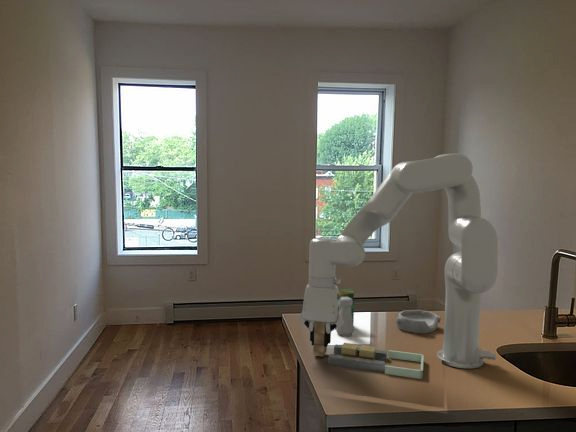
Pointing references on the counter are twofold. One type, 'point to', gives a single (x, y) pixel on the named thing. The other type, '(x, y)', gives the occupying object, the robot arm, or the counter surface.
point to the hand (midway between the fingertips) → (320, 344)
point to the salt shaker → (346, 317)
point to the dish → (417, 321)
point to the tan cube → (349, 350)
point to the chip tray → (405, 371)
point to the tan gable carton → (319, 339)
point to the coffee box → (349, 294)
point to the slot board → (358, 360)
